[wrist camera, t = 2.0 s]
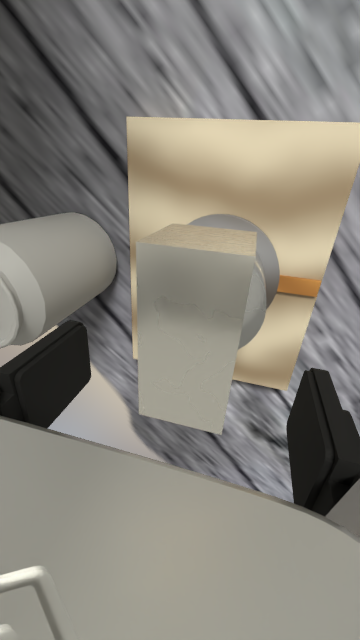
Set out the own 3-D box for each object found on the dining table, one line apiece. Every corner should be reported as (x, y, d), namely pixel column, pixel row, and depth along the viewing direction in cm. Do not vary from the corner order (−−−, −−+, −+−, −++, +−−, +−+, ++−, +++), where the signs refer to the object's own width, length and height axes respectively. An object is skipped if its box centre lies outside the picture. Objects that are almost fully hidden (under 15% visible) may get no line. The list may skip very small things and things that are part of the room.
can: (85, 192, 23) (-57, 204, 13) (136, 268, 25) (50, 331, 15) (34, 239, 26) (-111, 279, 16) (83, 303, 28) (-18, 375, 18)
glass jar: (174, 211, 19) (104, 238, 11) (278, 221, 18) (295, 261, 9) (168, 335, 24) (117, 424, 15) (250, 351, 23) (243, 457, 14)
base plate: (135, 120, 20) (120, 113, 18) (363, 127, 17) (378, 119, 15) (138, 350, 29) (129, 364, 27) (285, 380, 26) (287, 398, 24)
